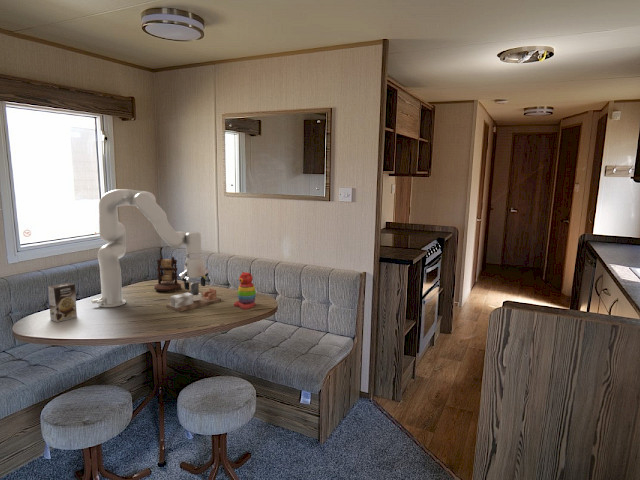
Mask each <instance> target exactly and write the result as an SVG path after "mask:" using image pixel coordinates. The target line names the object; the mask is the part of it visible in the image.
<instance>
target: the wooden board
mask: <svg viewBox="0 0 640 480" xmlns="http://www.w3.org/2000/svg"><path fill="white" fill-rule="evenodd" d="M201 297H202V299H199V300H195V301H193V294H191V292H188V291H187V292H184V293H180V294H175V295H170V297H169V298H170V303H167V304H165V307H166V308H169V309H170V310H173V311H176V312H178V313H181V312H183V311H184V312H185V311H187V310H192V309H196V308H199V307H204V306H207V305H210V304H215V303H218V302H221V301H222V298H219V297H217V289H214V288H210V287H209V288H208V290H207V291H203V292H202V295H201Z"/></svg>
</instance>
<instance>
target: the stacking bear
mask: <svg viewBox="0 0 640 480" xmlns="http://www.w3.org/2000/svg"><path fill="white" fill-rule="evenodd" d="M253 279H254V278H253V275H252V273H250V272H245V271H242V273H241V274H240V276H239V277H238V280H239V286H238V289H237V298H238V300H236V301H234V304H233V306H234V307H238V308H241V309H242V310H250V309H253V308H254V307H255V306H256V302H255V301H256V296H257V294H256V293H257V292H256V287H255V284H254V283H253Z"/></svg>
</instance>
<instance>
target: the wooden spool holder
mask: <svg viewBox="0 0 640 480" xmlns="http://www.w3.org/2000/svg"><path fill="white" fill-rule="evenodd" d="M177 262H178V260H177V259H175V257H174V256H172V257H171V258H163V256H160V257H159V259H157V260H156V263H157V269H156V270H157V284H155V285H154V290H155V291H156V293H158V292H159V291H160V292H170V291H172V293H175V291H176V290H179V289H181V288H182V284H181V283H179V282H178V273H177V271H178V266H177Z"/></svg>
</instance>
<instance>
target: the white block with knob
mask: <svg viewBox="0 0 640 480" xmlns="http://www.w3.org/2000/svg"><path fill="white" fill-rule="evenodd" d="M199 287H200V286H199V282H198V281H193V282H190V293H191V294H193V301H195V300H199V299H202V297H201V296H202V293H201V292H200V289H199Z"/></svg>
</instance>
